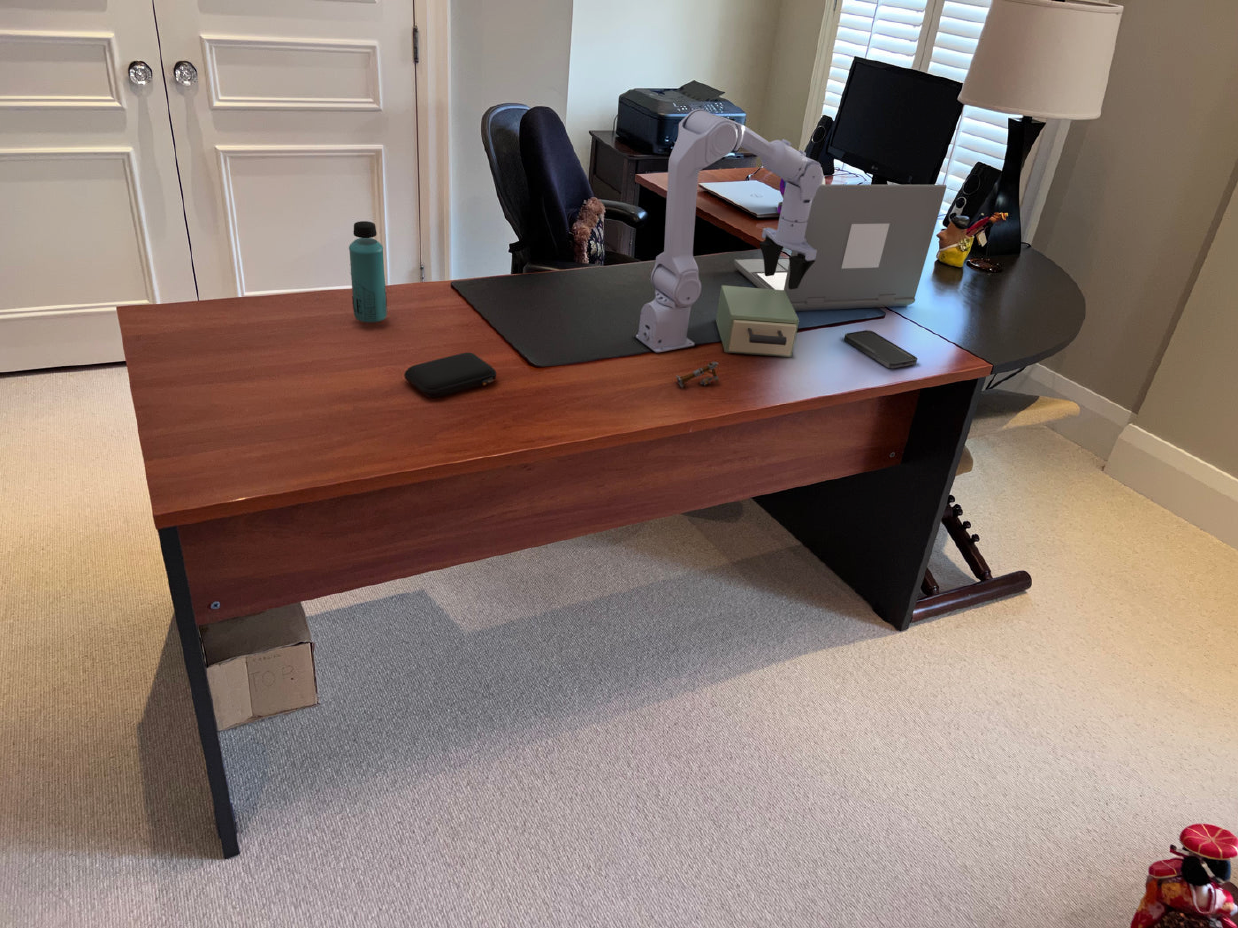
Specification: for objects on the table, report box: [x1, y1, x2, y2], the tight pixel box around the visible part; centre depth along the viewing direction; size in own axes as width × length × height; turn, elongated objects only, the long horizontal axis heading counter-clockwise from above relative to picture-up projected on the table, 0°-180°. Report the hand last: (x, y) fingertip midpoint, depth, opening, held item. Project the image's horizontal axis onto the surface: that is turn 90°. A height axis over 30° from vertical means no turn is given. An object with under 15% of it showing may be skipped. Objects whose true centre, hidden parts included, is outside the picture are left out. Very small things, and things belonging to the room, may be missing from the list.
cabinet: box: [715, 284, 800, 358], centre depth 187 cm, size 16×14×8 cm
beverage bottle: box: [348, 220, 388, 323], centre depth 172 cm, size 6×7×20 cm
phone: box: [843, 329, 918, 370], centre depth 189 cm, size 8×1×15 cm
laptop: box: [733, 183, 948, 312], centre depth 210 cm, size 35×26×28 cm
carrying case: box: [403, 352, 497, 399], centre depth 159 cm, size 11×3×15 cm
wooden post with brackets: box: [675, 361, 720, 388], centre depth 168 cm, size 2×8×4 cm, turn 106°
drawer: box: [729, 319, 796, 355], centre depth 183 cm, size 20×12×6 cm, turn 2°
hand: (780, 281), depth 190 cm, fingers open, 7 cm apart
